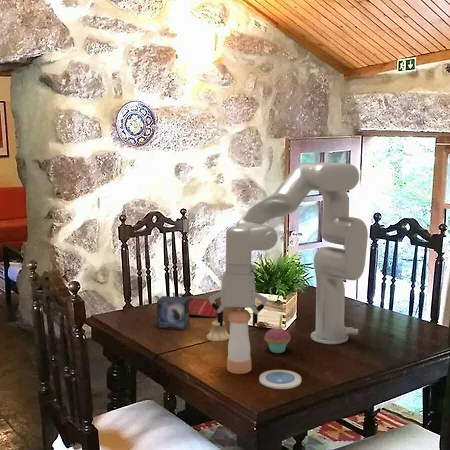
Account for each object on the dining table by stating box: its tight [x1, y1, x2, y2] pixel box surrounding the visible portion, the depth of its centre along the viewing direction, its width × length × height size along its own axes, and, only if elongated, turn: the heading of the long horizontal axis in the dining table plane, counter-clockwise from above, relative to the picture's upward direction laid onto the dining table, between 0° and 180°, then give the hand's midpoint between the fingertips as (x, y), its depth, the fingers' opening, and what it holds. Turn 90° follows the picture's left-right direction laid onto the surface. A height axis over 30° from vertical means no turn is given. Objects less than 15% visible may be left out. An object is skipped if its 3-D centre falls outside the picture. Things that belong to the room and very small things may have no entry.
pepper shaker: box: [226, 308, 252, 375], centre depth 189 cm, size 7×7×19 cm
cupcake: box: [263, 313, 292, 354], centre depth 205 cm, size 9×8×12 cm
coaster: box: [258, 369, 302, 390], centre depth 182 cm, size 12×12×1 cm
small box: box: [156, 295, 191, 331], centre depth 229 cm, size 11×6×10 cm, turn 76°
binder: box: [188, 297, 216, 319], centre depth 250 cm, size 16×2×21 cm
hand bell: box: [205, 291, 230, 342], centre depth 217 cm, size 8×8×16 cm
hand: (237, 325), depth 188 cm, fingers open, 9 cm apart
